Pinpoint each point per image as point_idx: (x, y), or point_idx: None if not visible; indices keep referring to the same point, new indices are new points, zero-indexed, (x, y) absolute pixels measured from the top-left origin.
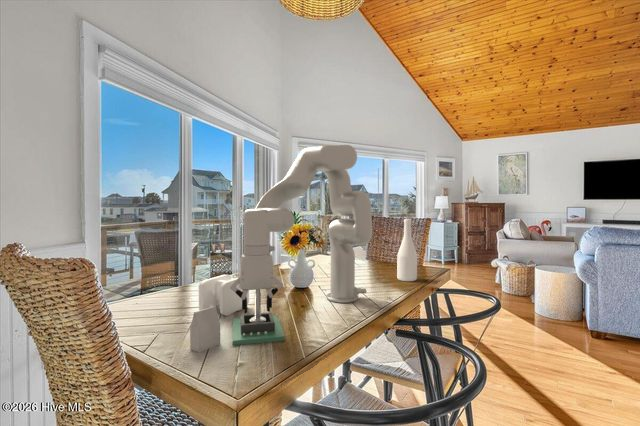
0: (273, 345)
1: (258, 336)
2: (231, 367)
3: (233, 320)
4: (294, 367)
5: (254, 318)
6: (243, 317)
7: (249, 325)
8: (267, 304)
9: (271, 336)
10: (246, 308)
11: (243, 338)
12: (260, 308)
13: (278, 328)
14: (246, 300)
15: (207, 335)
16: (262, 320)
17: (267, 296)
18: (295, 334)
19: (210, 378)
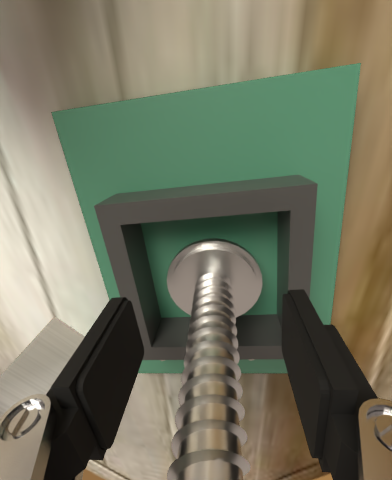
0: (271, 381)
1: None
2: (161, 450)
3: (65, 149)
4: (307, 476)
5: (194, 282)
6: (126, 260)
7: (177, 356)
8: (296, 402)
9: (271, 365)
10: (131, 380)
11: (166, 363)
12: (232, 330)
13: (316, 299)
14: (105, 447)
15: None
16: (241, 313)
17: (330, 424)
18: (381, 315)
19: (129, 470)
